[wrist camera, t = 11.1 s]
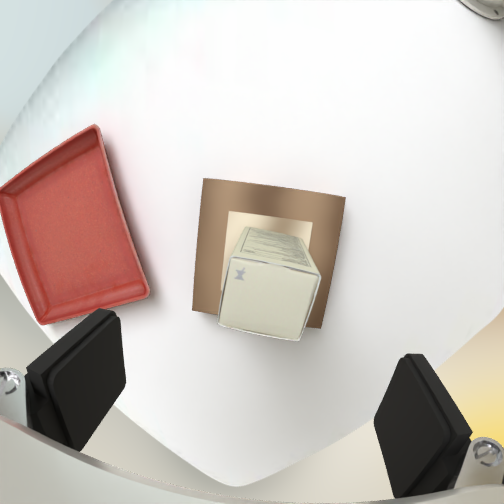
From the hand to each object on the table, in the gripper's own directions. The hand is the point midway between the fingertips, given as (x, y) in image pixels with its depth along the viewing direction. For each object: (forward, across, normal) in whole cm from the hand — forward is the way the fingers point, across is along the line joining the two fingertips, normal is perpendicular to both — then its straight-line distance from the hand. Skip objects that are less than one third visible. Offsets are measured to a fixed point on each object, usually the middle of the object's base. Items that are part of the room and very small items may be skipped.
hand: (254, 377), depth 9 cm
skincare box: (+18, 0, +1) cm, 18 cm away
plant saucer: (+21, +22, +2) cm, 31 cm away
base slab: (+21, 0, +1) cm, 21 cm away
